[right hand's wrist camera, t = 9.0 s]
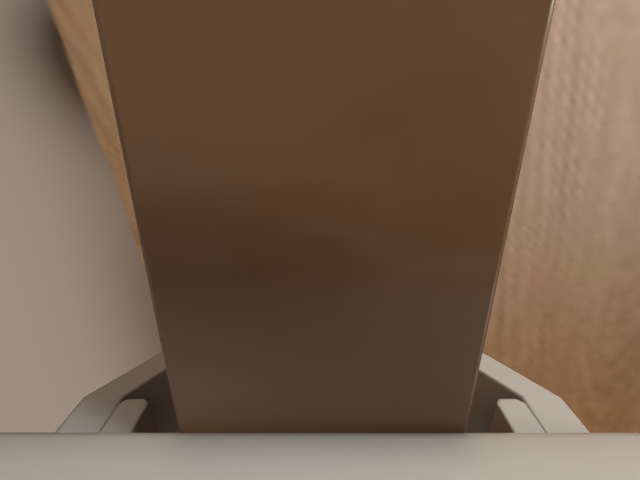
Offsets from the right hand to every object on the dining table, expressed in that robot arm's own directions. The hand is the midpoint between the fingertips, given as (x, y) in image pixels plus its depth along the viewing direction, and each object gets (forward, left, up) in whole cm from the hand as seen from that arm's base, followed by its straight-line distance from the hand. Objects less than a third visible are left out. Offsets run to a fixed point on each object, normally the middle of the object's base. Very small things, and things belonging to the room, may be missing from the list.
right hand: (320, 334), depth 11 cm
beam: (+21, -16, -3) cm, 27 cm away
